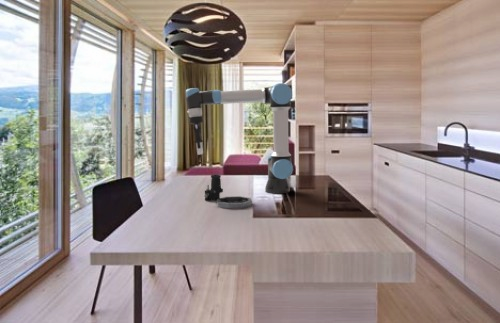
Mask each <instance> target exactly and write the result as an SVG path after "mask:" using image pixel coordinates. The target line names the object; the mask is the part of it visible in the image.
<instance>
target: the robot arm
mask: <svg viewBox="0 0 500 323" xmlns="http://www.w3.org/2000/svg"><path fill="white" fill-rule="evenodd" d="M185 96H186V97H185V99H186V105H187V111H186V113H187V114H188V117H189V118H188V120H189V124H190V125H193V128H192V129H193V132H194V135H195V137H194V138H195V141H194V144H196V145H195V146H196V153H197V156H199V155H203V154H204V148H203V142H204V140H203V139H202V128H201V126H200V124H203V123H204V119H203V118H204V117H203V116H202V115H203V110H202V106H205V105H211V106H212V105H227V104H230V105H231V104H246V103H247V104H248V103H249V104H250V103H252V104H253V103H263V104H266V105H267V104H268V105H270V107H269V108H270V109H271V110H272V120H273V124H272V125H273V127H272V129H273V152H272V154H269V155H268V157H267V170H268V171H267V181H266V185H265V188H264V190H265V192H266V193H268V194H287V193H290V191H291V190H290V189H291V187H290V185H289V182H288V178H289V177H290V176H291V175H292V174H293V172H294V166H293V163H292V154H291V153H290V151H289V147H290V145H289V110H290V109H291V107H292V106H291V105H292V103H291V102H292V97H293V90H292V89H291V87H290V86H289V85H288V84H287V83H284V82H281V83H276V84H274V85H272V86H268V87H262V88H260V89H243V90H242V89H241V90H239V89H238V90H220V89H211V90H204V91H202V90H201V91H200V89H199V87H195V88H193V87H192V88H191V87H190V88H187V89H186V90H185Z"/></svg>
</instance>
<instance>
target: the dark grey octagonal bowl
mask: <svg viewBox="0 0 500 323" xmlns="http://www.w3.org/2000/svg"><path fill="white" fill-rule="evenodd" d="M216 205H217V207H219V208H223V209H226V210H229V209H231V210H233V209H234V210H235V209H236V210H237V209H246V208H248V207H252V206H253V200H252V198H251V197H247V196H240V195H239V196H233V195H232V196H224V197H220V198H219V199H217V201H216Z"/></svg>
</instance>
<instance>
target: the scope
mask: <svg viewBox="0 0 500 323" xmlns="http://www.w3.org/2000/svg"><path fill="white" fill-rule="evenodd" d="M221 177H222V176H221V175H220V174H211V175H210V178H211V179H210V185H209V184H207V185H206V189H205V190H204V196H203V197H204V201H216V202H217V199H219V198H221V196H220V194H221V193H223V192H224V189H223V188H222V186H221V185H222V183H221V182H222V180H221Z"/></svg>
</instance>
